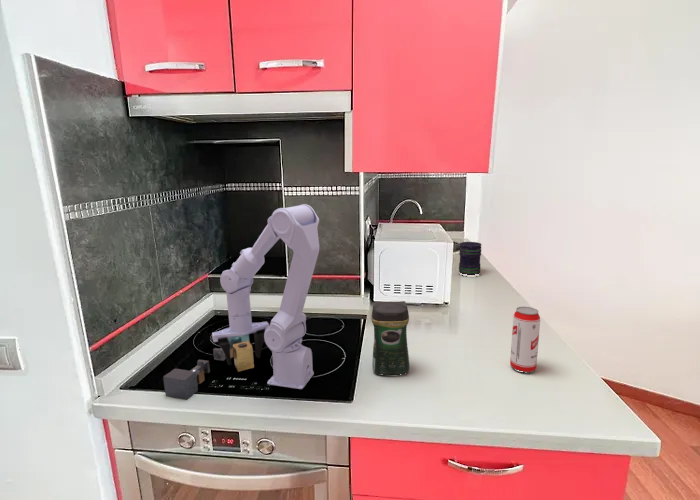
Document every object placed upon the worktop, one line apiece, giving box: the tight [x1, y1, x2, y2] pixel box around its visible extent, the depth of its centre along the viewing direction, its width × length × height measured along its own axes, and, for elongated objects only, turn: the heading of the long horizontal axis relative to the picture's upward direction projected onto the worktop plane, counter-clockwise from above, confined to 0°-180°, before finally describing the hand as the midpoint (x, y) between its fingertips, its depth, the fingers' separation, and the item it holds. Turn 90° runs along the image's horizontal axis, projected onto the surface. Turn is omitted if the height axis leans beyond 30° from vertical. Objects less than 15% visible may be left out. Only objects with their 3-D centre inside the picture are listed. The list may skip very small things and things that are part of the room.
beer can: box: [509, 306, 541, 373], centre depth 102 cm, size 6×6×16 cm
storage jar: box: [458, 241, 482, 275], centre depth 188 cm, size 10×10×15 cm
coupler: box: [233, 340, 255, 372], centre depth 107 cm, size 4×4×6 cm
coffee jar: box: [370, 300, 410, 376], centre depth 102 cm, size 10×8×19 cm
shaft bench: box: [162, 334, 250, 401], centre depth 106 cm, size 6×28×5 cm, turn 163°
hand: (243, 360), depth 108 cm, fingers open, 7 cm apart
